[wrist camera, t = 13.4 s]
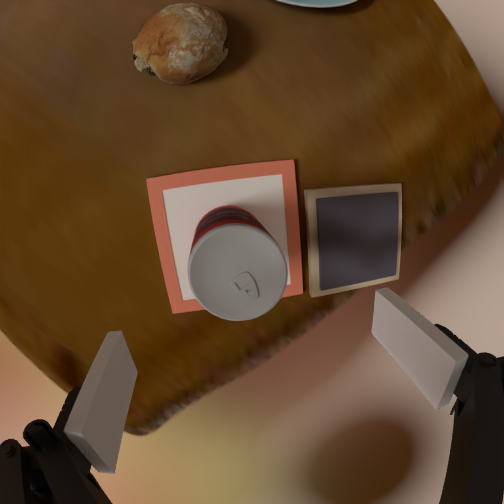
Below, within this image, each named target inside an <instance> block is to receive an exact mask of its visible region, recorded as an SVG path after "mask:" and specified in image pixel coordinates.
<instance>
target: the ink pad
mask: <svg viewBox="0 0 504 504" xmlns="http://www.w3.org/2000/svg"><path fill="white" fill-rule="evenodd" d="M304 199H305V212H306V228H307V245H308V265H309V292H310V295H311V297H318V296H323V295H328V294H333V293H338V292H343V291H347V290H352V289H357V288H361V287H366V286H371V285H375V284H379V283H384V282H388V281H392V280H397V279H399V270H400V255H401V232H402V184H401V183H385V184H368V185H353V186H340V187H328V188H316V189H306V190H304Z"/></svg>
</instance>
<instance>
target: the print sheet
mask: <svg viewBox="0 0 504 504" xmlns="http://www.w3.org/2000/svg"><path fill="white" fill-rule="evenodd" d="M146 181H147V188H148V194H149V201H150V207H151V213H152V219H153V224H154V230H155V235H156V240H157V245H158V250H159V255H160V260H161V265H162V269H163V274H164V278H165V283H166V287H167V291H168V296H169V300H170V304H171V308H172V312H173V314H174V313H181V312H189V311H197V310H204V309H205V308H204V307H203V306H202V305H201V304H200V303H199V302H198V301H197V299H196V298H195V297H194V295H193V293H192V290H191V288H190V285H189V280H188V259H189V255H190V250H191V246H192V242H193V238H194V234H195V230H196V227H197V225H198V223H199V221H200V220H201V219H202V217H203V216H204V215H205V214H207V213H208V212H209V211H211V210H213V209H214V208H218V207H221V206H237V207H240V208H243V209H245V210H247V211H249V212H250V213H251V214H252V215H254V216H255V217H256V218H257V220H258V221H259V222H260V223H261V224H262V225H263V226H264V228H265V229H266V230H267V231H268V232H269V233H270V234H271V236H272V237H273V238H274V239H275V241H276V242H277V243H278V245H279V246H280V248H281V250H282V252H283V254H284V256H285V259H286V263H287V268H288V279H287V285H286V288H285V291H284V293H283V295H282V297H287V296H293V295H298V294H303V282H302V262H301V244H300V229H299V215H298V202H297V190H296V178H295V167H294V160H282V161H271V162H260V163H251V164H242V165H233V166H225V167H217V168H210V169H203V170H196V171H190V172H183V173H177V174H171V175H165V176H160V177H154V178H149V179H146Z"/></svg>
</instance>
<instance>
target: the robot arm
mask: <svg viewBox="0 0 504 504" xmlns="http://www.w3.org/2000/svg"><path fill="white" fill-rule="evenodd" d="M372 334H373V335H374V337H375V338H376V339H377V340H378V341H379V342H380V343H381V345H382V346H383V347H384V348H385V349H386V350H387V351H388V352H389V354H390V355H391V356H392V357H393V358H394V360H395V361H396V362H397V363H398V364H399V365H400V367H401V368H402V369H403V370H404V371H405V373H406V374H407V375H408V376H409V377H410V378H411V380H412V381H413V382H414V383H415V384H416V386H417V387H418V388H419V389H420V390H421V391H422V393H423V394H424V395H425V396H426V398H427V399H428V400H429V401H430V403H431V404H432V405H433V406H434V407H435V409H436V410H437V409H439V408H441V407H442V406H445V405H446V404H448V403H449V402H450V400H451V398H452V396H453V393H454V394H455V395H456V397H457V400H456V402H455V404H454V406H453V408H452V410H451V413H450V415H452V414H453V412H454V410H455V414H454V425H453V434H452V442H451V449H450V455H449V461H448V467H447V472H446V477H445V482H444V486H443V490H442V495H441V499H440V502H439V504H502V502H503V494H504V356H503V357H499V358H496V357H495V356H494V355H492V354H490V353H486V352H484V353H479V354H477V353H476V352H475V351H474V350H472V349H471V348H470V347H469V346H468V345H467V344H465V343H464V342H463V341H462V340H461V339H458V337H457V336H456V335H453V333H452V332H451V331H450V330H449V329H447V328H446V327H444V326H441V325H439V324H435V325H433V324H432V323H431V322H430V321H429V320H427V319H426V318H425V317H424V316H423V315H421V314H420V313H419V312H417V311H416V310H415V309H414V308H413V307H411V306H410V305H409V304H408V303H407V302H405V301H404V300H403V299H402V298H400V297H399V296H398V295H397V294H395V293H394V292H393V291H391V290H390V289H389V288H383V289H378V290H376V294H375V305H374V315H373V325H372ZM137 373H138V372H137V370H136V367H135V365H134V363H133V360H132V358H131V355H130V352H129V350H128V347H127V345H126V342H125V339H124V337H123V334H122V331H112V332H108V333H107V335H106V337H105V339H104V341H103V343H102V345H101V347H100V349H99V351H98V353H97V355H96V357H95V359H94V361H93V364H92V366H91V368H90V370H89V372H88V374H87V377H86V379H85V381H84V383H83V385H82V387H75V388H74V389H73V390H72V391H71V392H70V393H69V394H68V396H67V398H66V400H65V402H64V403H65V404H64V405H63V407H62V411H60V413H59V416H58V418H57V420H56V423H55V425H54V427H53V428H52V427H51V426H50V424H49V423H48V422H47V421H45V420H42V419H37V420H34V421H32V422H31V423H29V424H28V425H27V426H26V427H25V429H24V432H23V438H24V439H25V441H26V442H27V443H28V444H29V445H30V446H26V447H22V446H21V445H20V444H19V443H18V441H17V440H14V439H8V440H5V441H4V442H3V443H2V444H1V445H0V504H112V503H111V501H110V500H109V498H108V497H107V495H106V494H105V493H104V491H103V490H102V488H101V487H100V485H99V484H98V482H97V481H96V479H95V477H94V476H93V475H92V474H91V473H90V469H91V465H92V466H93V467H94V468H95V469H96V470H97V471H98V472H103V473H112V474H115V469H116V464H117V459H118V453H119V449H120V444H121V439H122V434H123V430H124V426H125V421H126V417H127V413H128V408H129V404H130V400H131V396H132V392H133V388H134V384H135V381H136V377H137Z"/></svg>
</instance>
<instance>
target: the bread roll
mask: <svg viewBox="0 0 504 504" xmlns="http://www.w3.org/2000/svg"><path fill="white" fill-rule="evenodd" d="M227 33H228V32H227V24H226V21H225V19H224V18H223V16H222V15H221V14H220V13H219V12H218V11H216V10H215V9H213V8H211V7H208V6H206V5H203V4H198V3H178V4H174V5H170V6H167V7H165V8H164V9H162V10H160V11H158V12H157V13H155V14H154V15H153V16H151V17H150V18H149V19H148V20H147V21H146V22H145V23H144V24H142V28H141V30H140V32H139V34H138V35H137V37H136V38H135V39H134V40H133V41H132V43H133V48H134V49H133V54H135V55H134V56H133V58H134V64H135V65H136V67H137V70H139V71H140V72H142V71H143V70H145V68H147V72H148V74H149V75H156V76H158V78H159V79H160V80H161V81H163V82H167V83H170V84H171V85H172V84H176V85H184V84H189V83H192V82H194V81H196V80H199V79H200V78H202V77H204V76H206V75H208V74H210V73H212V72H213V71H214V70H215V69H216V68H217V67H218V65H219V64H220V63H222V62H223V60H224V59H225V58H226V56H227V54H228V48H225V45H226V43H227V37H226V35H227Z"/></svg>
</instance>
